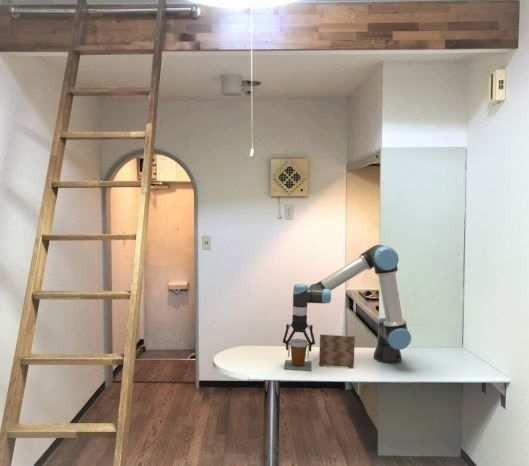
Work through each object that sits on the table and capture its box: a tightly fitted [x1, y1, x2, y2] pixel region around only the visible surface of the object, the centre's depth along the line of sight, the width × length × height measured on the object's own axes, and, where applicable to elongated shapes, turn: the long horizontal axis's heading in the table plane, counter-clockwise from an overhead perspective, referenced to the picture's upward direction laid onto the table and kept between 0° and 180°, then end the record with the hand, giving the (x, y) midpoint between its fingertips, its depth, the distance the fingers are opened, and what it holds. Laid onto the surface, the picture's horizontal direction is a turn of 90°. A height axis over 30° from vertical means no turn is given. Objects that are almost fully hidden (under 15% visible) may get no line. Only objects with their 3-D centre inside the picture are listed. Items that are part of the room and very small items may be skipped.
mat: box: [283, 359, 312, 372], centre depth 254 cm, size 14×14×1 cm
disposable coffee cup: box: [289, 338, 309, 365], centre depth 254 cm, size 10×10×12 cm
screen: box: [318, 334, 356, 369], centre depth 256 cm, size 18×5×16 cm, turn 84°
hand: (298, 356), depth 254 cm, fingers closed on disposable coffee cup, 9 cm apart
